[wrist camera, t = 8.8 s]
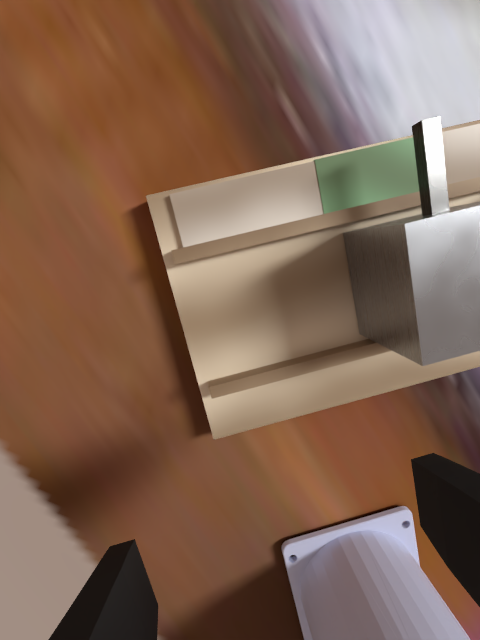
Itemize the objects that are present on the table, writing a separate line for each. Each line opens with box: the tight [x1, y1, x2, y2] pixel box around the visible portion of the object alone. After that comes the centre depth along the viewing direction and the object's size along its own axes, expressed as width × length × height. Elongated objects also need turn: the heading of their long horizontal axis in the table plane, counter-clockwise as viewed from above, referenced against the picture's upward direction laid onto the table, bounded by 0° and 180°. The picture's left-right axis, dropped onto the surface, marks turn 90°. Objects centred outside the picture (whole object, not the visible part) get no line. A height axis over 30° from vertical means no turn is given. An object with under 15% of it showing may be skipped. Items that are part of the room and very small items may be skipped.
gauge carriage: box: [343, 116, 480, 366], centre depth 14 cm, size 8×5×5 cm, turn 13°
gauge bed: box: [146, 120, 480, 439], centre depth 15 cm, size 12×22×6 cm, turn 103°
